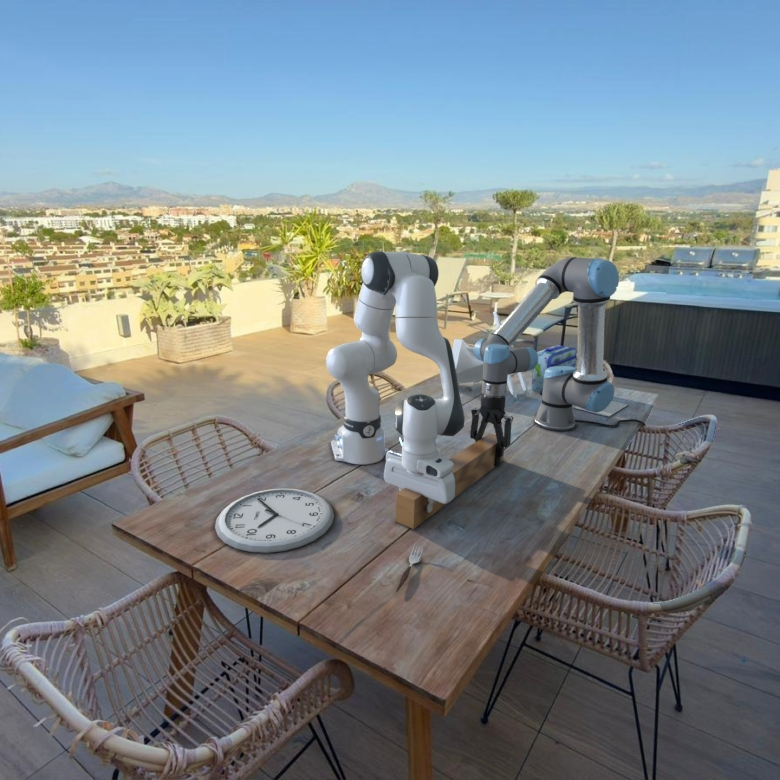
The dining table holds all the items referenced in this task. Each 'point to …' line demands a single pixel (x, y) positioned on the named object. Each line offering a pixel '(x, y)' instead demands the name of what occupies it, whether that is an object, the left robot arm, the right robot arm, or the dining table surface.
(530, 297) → the right robot arm
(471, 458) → the post
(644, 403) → the dining table surface
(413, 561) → the fork
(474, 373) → the white plastic object
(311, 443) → the dining table surface
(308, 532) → the wall clock
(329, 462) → the dining table surface
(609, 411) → the invitation card
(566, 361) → the lunch box
